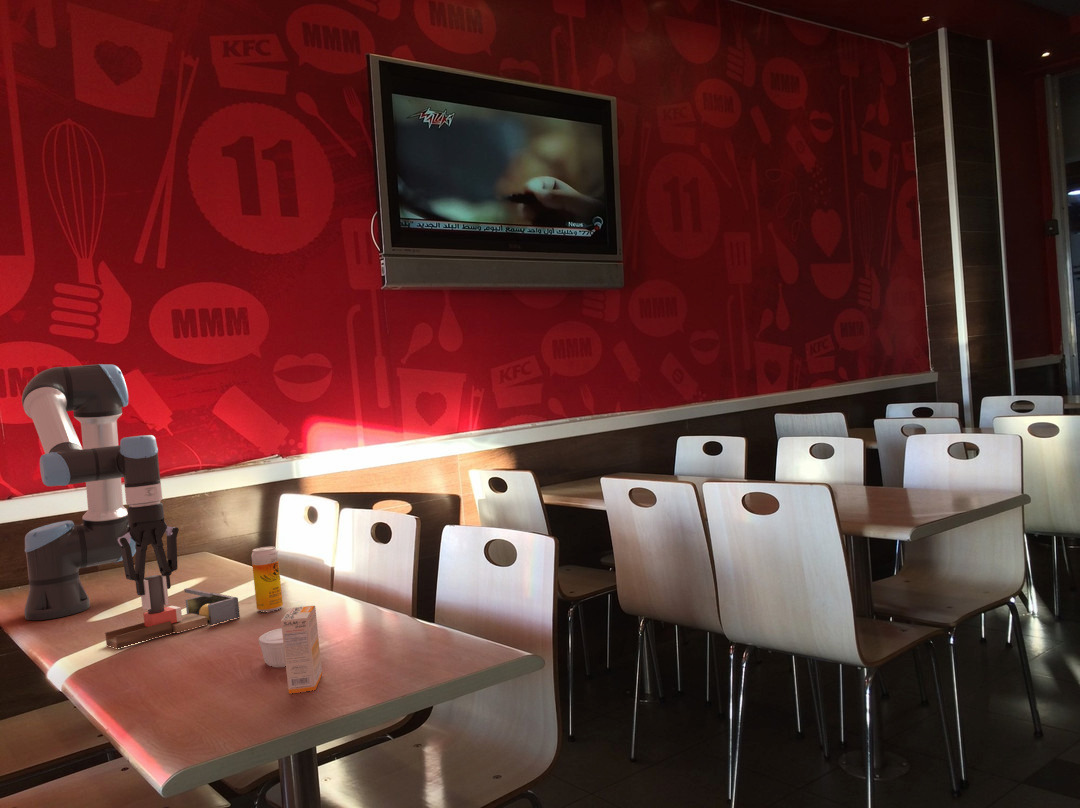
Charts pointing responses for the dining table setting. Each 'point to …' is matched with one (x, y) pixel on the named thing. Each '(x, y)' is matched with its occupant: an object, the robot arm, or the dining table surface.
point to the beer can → (267, 579)
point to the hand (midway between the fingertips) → (155, 606)
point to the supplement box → (301, 649)
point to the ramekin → (273, 648)
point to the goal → (213, 605)
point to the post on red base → (159, 605)
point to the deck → (189, 622)
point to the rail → (136, 634)
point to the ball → (204, 611)
